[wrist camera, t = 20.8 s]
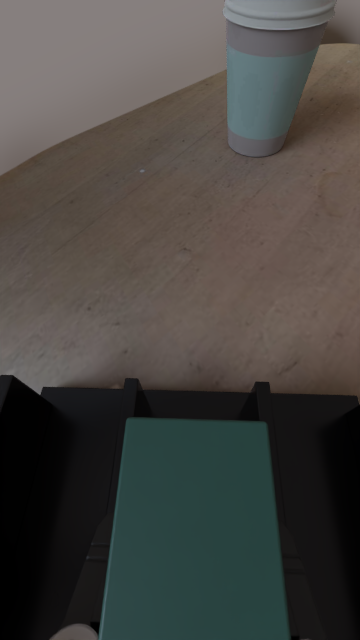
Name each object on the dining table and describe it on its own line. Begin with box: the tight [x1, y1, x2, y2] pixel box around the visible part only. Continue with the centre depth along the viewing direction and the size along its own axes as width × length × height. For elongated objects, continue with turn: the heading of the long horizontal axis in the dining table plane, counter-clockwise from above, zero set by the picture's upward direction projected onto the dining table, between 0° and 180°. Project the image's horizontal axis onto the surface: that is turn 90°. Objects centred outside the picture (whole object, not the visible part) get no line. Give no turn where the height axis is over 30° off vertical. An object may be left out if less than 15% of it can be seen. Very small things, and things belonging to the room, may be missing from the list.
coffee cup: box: [223, 0, 337, 157], centre depth 27 cm, size 8×9×12 cm
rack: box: [0, 375, 360, 640], centre depth 12 cm, size 16×18×6 cm
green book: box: [98, 417, 291, 640], centre depth 9 cm, size 3×8×10 cm, turn 178°
